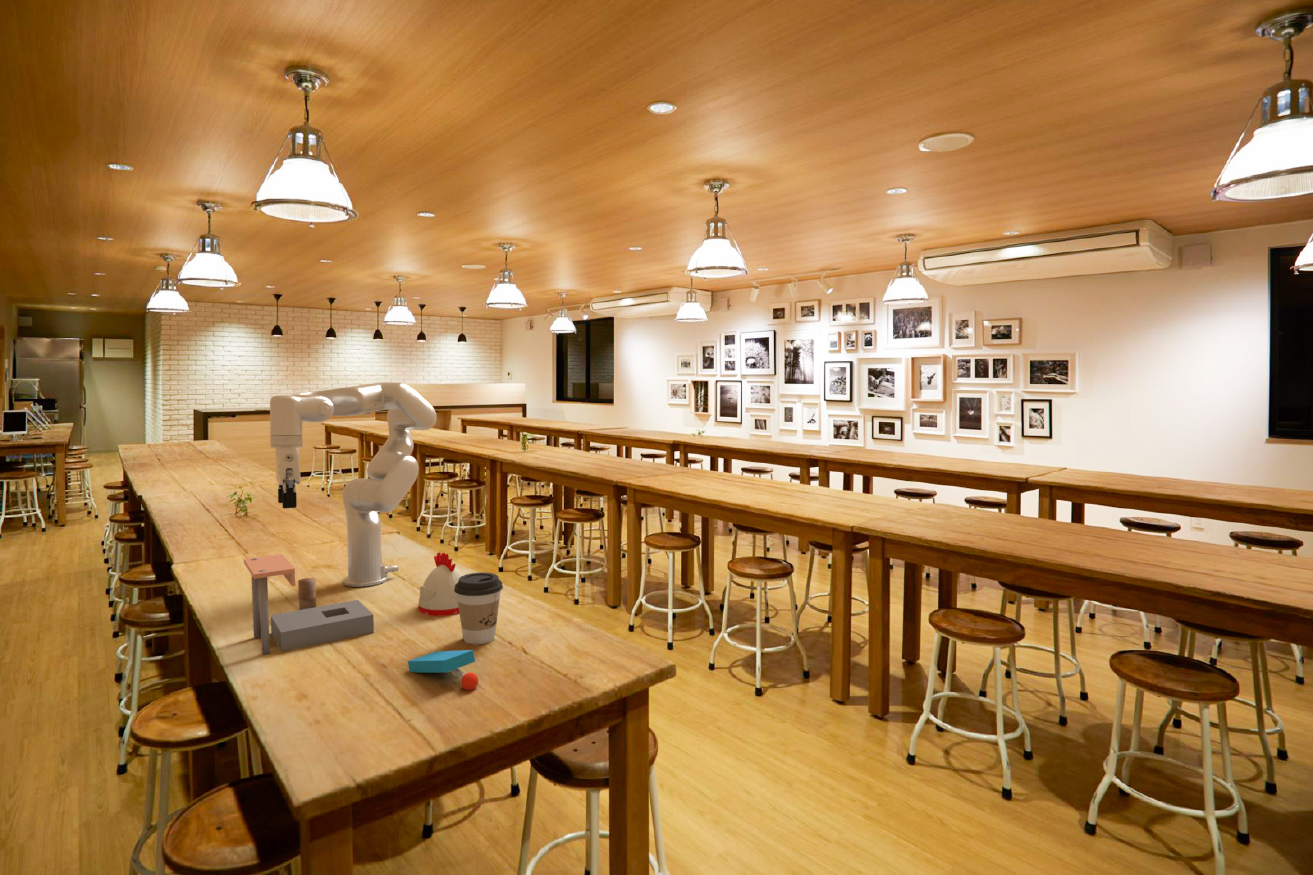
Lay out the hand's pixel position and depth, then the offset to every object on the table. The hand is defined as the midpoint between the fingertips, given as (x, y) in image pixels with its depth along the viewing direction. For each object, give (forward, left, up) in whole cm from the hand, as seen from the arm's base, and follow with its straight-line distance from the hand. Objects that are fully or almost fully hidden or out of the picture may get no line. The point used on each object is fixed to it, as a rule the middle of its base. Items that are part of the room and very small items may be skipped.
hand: (287, 505), depth 182 cm
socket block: (-3, +26, -28) cm, 38 cm away
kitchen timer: (-33, +25, -28) cm, 50 cm away
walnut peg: (-2, +9, -28) cm, 29 cm away
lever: (-18, +68, -28) cm, 76 cm away
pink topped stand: (+8, +26, -28) cm, 39 cm away
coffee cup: (-31, +52, -28) cm, 67 cm away
